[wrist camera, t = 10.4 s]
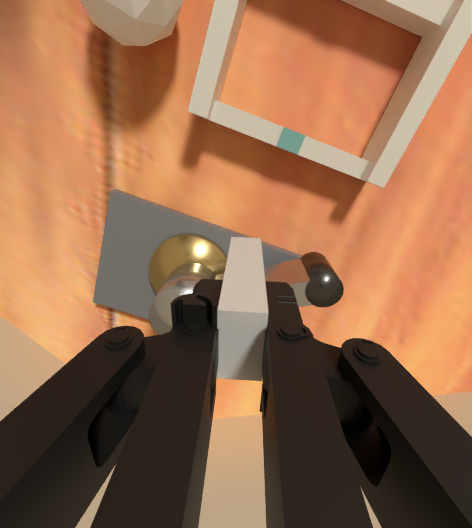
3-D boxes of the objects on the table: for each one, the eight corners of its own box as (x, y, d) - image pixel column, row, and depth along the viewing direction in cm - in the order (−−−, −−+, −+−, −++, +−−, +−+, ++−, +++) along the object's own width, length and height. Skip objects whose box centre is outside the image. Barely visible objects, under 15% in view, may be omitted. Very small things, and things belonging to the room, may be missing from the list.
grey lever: (140, 242, 30) (109, 270, 23) (318, 203, 27) (338, 222, 21) (167, 311, 33) (147, 351, 27) (327, 282, 31) (347, 319, 24)
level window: (196, 115, 26) (187, 111, 22) (245, -74, 20) (244, -121, 17) (366, 181, 27) (383, 188, 24) (451, 21, 22) (491, -3, 18)
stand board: (98, 297, 34) (92, 302, 33) (115, 189, 29) (110, 191, 28) (261, 349, 36) (262, 355, 35) (308, 257, 31) (310, 262, 30)
